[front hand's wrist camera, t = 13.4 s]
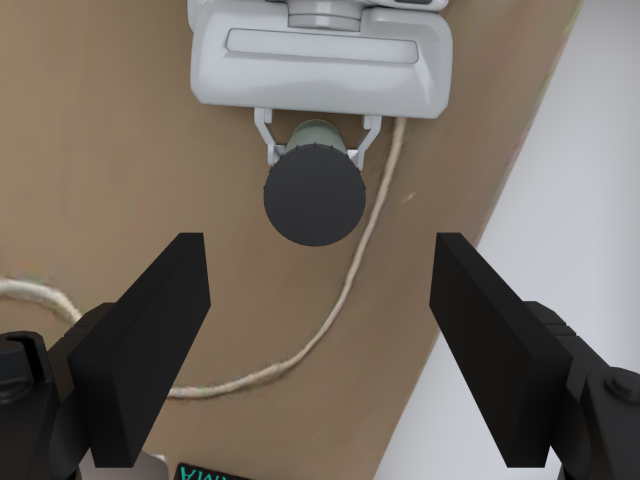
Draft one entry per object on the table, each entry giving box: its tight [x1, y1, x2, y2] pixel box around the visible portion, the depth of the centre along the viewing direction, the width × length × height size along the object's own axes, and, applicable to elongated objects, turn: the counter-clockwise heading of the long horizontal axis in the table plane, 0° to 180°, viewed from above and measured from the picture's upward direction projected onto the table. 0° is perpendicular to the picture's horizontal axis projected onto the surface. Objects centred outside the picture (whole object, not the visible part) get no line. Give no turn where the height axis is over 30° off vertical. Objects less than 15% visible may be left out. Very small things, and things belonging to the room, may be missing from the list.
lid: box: [264, 142, 366, 246], centre depth 24 cm, size 6×6×2 cm
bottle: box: [283, 119, 349, 156], centre depth 32 cm, size 5×5×19 cm
